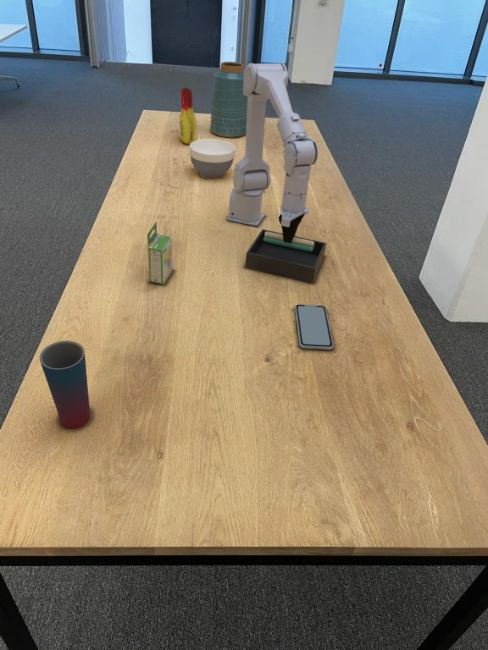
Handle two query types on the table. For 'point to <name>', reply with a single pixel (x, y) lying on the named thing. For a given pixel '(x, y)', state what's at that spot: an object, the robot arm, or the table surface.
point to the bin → (285, 259)
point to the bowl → (212, 157)
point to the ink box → (159, 256)
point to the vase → (229, 101)
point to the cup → (67, 381)
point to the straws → (295, 243)
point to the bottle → (187, 117)
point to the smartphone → (313, 327)
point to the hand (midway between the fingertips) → (288, 239)
